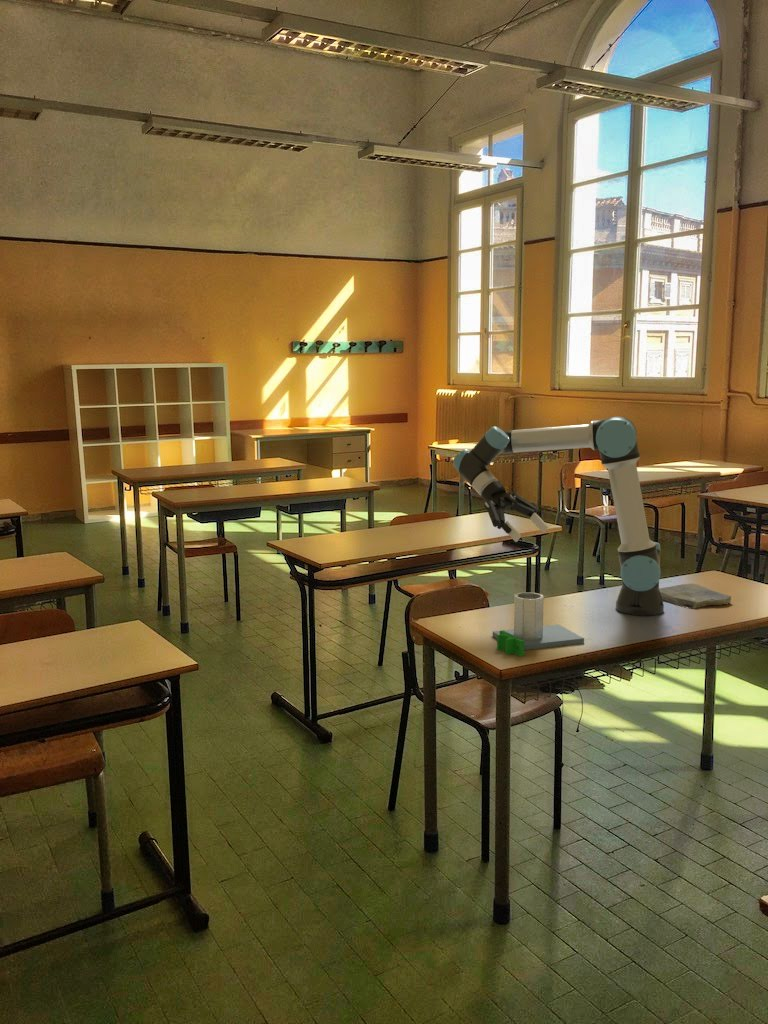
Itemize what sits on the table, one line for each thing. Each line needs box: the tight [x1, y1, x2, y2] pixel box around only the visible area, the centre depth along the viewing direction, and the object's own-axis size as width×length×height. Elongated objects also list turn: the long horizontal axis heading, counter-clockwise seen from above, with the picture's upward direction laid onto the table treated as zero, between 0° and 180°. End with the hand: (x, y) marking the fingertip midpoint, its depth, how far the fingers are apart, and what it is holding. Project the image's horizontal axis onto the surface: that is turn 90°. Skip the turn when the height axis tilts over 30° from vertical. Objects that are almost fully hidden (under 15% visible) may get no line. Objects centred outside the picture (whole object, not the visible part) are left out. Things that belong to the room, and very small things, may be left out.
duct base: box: [492, 624, 585, 651], centre depth 251 cm, size 22×15×8 cm
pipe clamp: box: [496, 629, 525, 657], centre depth 242 cm, size 11×4×5 cm, turn 24°
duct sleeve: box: [513, 591, 545, 640], centre depth 250 cm, size 8×8×12 cm
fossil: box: [659, 583, 732, 609], centre depth 294 cm, size 20×5×17 cm
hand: (532, 534), depth 265 cm, fingers open, 13 cm apart
